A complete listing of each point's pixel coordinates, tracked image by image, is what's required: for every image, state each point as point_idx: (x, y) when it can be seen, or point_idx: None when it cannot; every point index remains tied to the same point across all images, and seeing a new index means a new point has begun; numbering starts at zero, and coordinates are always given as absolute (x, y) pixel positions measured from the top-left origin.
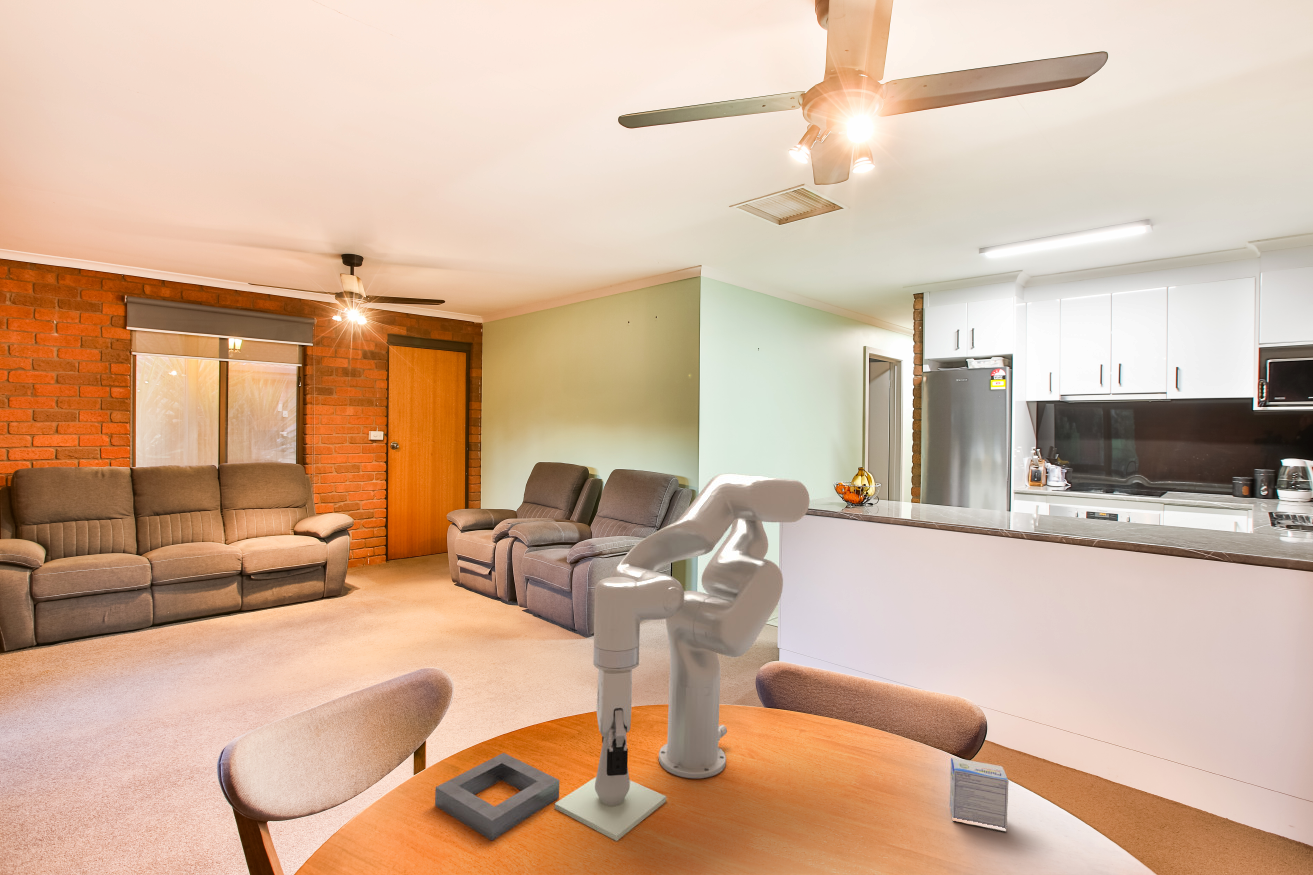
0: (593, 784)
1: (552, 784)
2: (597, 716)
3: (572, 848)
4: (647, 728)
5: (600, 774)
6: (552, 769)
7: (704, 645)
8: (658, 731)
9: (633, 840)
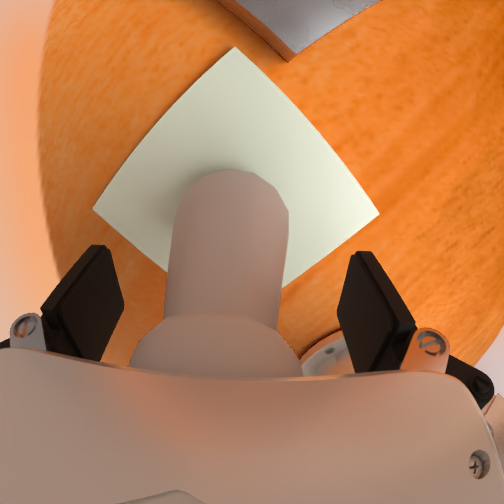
0: (318, 166)
1: (270, 30)
2: (259, 401)
3: (75, 110)
4: (476, 306)
5: (195, 205)
6: (426, 75)
7: None
8: (460, 322)
9: (103, 237)
